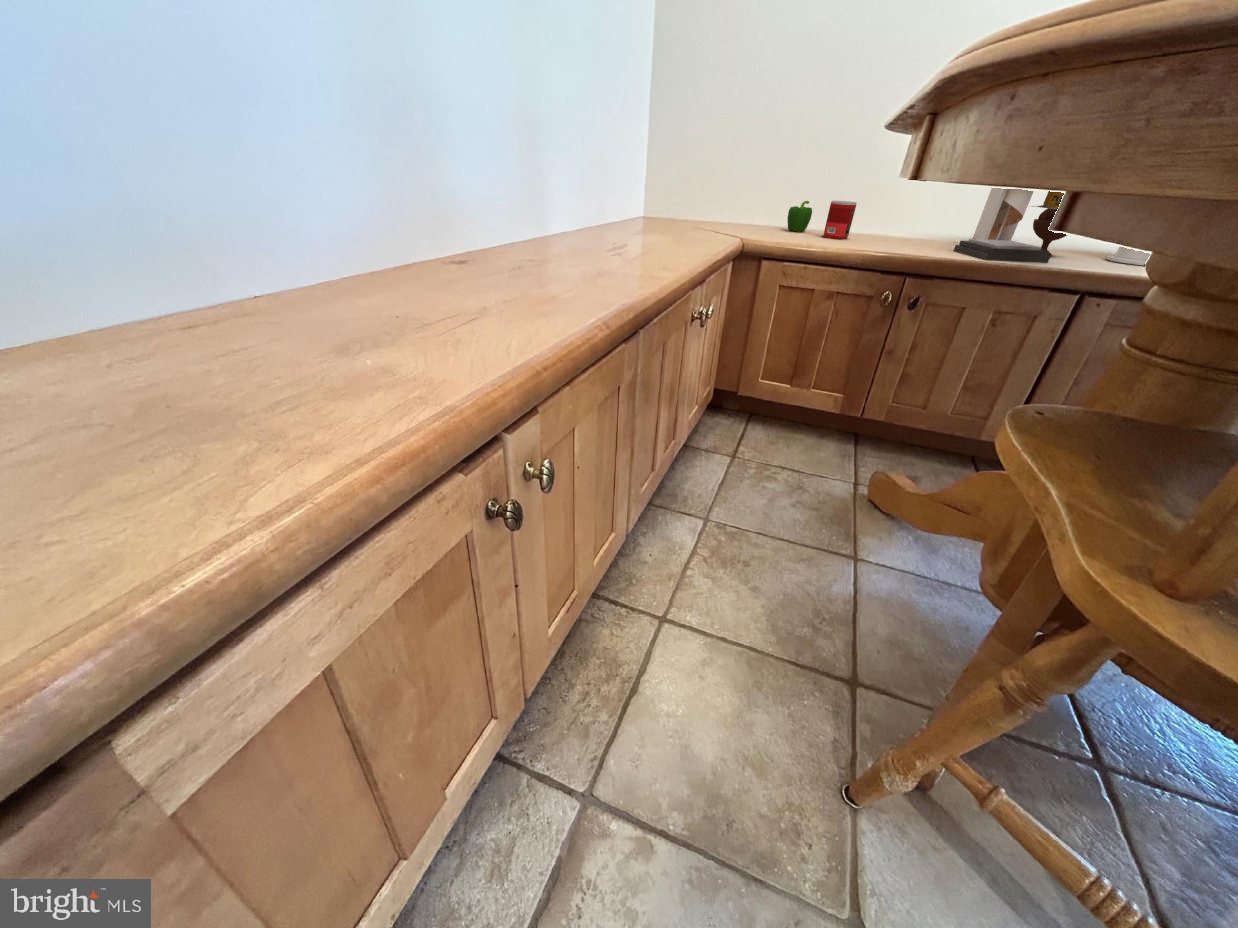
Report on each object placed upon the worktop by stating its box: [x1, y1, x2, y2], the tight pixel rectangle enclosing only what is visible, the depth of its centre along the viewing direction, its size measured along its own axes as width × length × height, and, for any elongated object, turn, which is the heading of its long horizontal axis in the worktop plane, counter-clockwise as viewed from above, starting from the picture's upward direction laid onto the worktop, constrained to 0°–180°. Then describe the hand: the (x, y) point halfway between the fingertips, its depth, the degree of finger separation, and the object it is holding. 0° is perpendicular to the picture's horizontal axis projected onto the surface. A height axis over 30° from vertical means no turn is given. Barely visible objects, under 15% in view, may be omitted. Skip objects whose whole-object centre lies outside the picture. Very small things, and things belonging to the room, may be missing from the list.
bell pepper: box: [787, 200, 813, 233], centre depth 179 cm, size 8×8×10 cm
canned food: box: [823, 200, 858, 240], centre depth 167 cm, size 8×8×11 cm
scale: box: [953, 240, 1052, 264], centre depth 147 cm, size 18×16×3 cm
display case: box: [971, 187, 1034, 241], centre depth 156 cm, size 11×11×35 cm
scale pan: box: [967, 238, 1042, 250], centre depth 146 cm, size 13×13×1 cm
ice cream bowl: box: [1032, 208, 1068, 257], centre depth 150 cm, size 11×11×15 cm
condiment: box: [1031, 190, 1064, 209], centre depth 128 cm, size 7×8×12 cm
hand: (1068, 175), depth 126 cm, fingers closed on condiment, 6 cm apart
